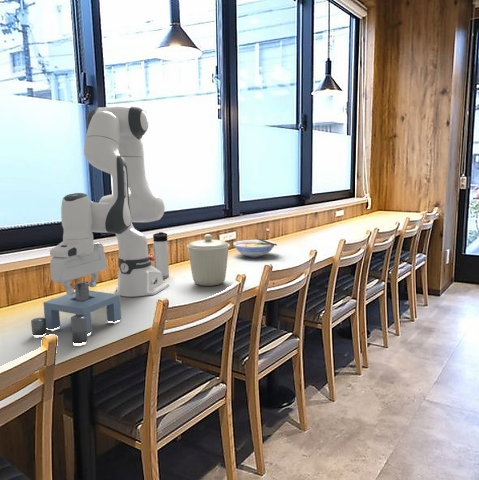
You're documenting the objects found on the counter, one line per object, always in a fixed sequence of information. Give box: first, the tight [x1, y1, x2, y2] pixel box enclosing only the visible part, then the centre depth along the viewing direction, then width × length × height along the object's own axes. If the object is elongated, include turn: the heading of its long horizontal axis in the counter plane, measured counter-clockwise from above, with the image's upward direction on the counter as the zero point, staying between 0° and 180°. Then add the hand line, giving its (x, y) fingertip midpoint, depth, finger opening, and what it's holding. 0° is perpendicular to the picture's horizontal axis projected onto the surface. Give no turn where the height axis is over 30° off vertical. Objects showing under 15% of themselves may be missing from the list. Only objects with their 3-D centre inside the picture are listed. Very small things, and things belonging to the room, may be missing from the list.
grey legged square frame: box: [43, 289, 122, 334], centre depth 147 cm, size 16×16×9 cm
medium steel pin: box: [70, 314, 88, 343], centre depth 132 cm, size 4×4×8 cm
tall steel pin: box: [74, 280, 90, 302], centre depth 146 cm, size 4×4×14 cm
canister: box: [186, 233, 231, 287], centre depth 196 cm, size 18×18×21 cm
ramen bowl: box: [232, 238, 277, 258], centre depth 253 cm, size 25×23×8 cm
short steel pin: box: [30, 317, 48, 335], centre depth 139 cm, size 4×4×5 cm
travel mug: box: [152, 231, 170, 280], centre depth 208 cm, size 6×7×20 cm
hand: (81, 290), depth 145 cm, fingers open, 8 cm apart
